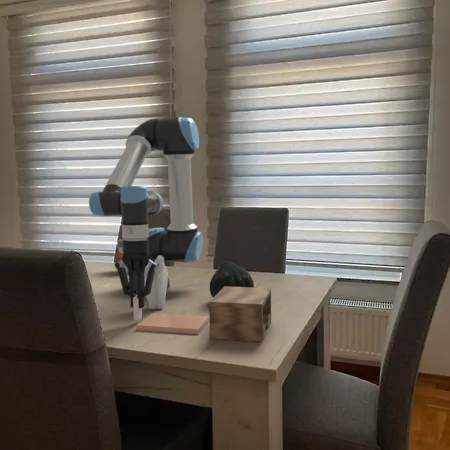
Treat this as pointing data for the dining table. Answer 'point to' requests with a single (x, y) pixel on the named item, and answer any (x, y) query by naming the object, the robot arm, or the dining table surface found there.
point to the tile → (174, 323)
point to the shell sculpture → (157, 285)
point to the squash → (229, 277)
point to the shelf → (240, 313)
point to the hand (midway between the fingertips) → (137, 318)
